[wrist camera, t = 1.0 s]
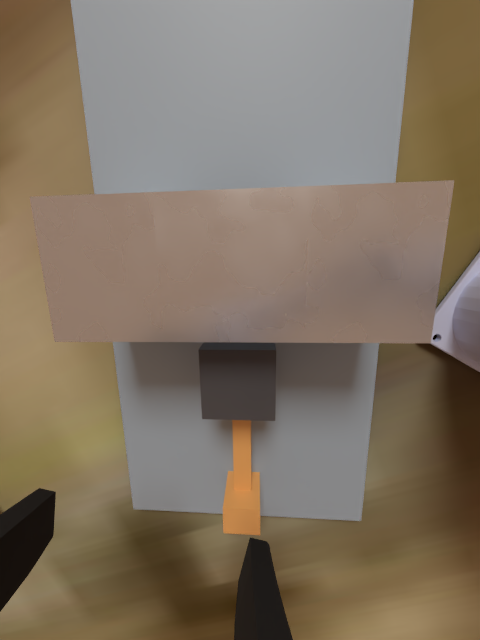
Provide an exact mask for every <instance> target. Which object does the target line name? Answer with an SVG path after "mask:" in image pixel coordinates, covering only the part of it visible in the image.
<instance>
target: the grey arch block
mask: <svg viewBox="0 0 480 640" xmlns="http://www.w3.org/2000/svg"><path fill="white" fill-rule="evenodd" d="M453 185H454V180H453V181H427V182H401V183H375V184H349V185H323V186H297V187H271V188H245V189H219V190H193V191H167V192H141V193H115V194H89V195H63V196H37V197H30V201H31V207H32V213H33V218H34V224H35V230H36V236H37V242H38V247H39V253H40V259H41V265H42V271H43V276H44V282H45V288H46V294H47V300H48V305H49V311H50V317H51V323H52V329H53V334H54V340H55V342H258V343H431V337H432V331H433V324H434V317H435V310H436V303H437V296H438V289H439V282H440V275H441V268H442V261H443V255H444V248H445V241H446V234H447V227H448V220H449V213H450V206H451V199H452V192H453Z"/></svg>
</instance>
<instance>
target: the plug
mask: <svg viewBox="0 0 480 640" xmlns="http://www.w3.org/2000/svg"><path fill="white" fill-rule="evenodd" d="M198 351H199V370H200V390H201V409H202V419H216V420H232V429H233V470H234V471H228V475H227V482H226V489H225V496H224V503H223V530H224V533H231V534H248V535H260V472H252V444H251V420H254V421H275V409H276V347H275V343H258V342H204V343H203V344H202V345H201V347H200V348H199V350H198Z"/></svg>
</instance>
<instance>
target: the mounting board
mask: <svg viewBox="0 0 480 640" xmlns="http://www.w3.org/2000/svg"><path fill="white" fill-rule="evenodd" d="M413 1H414V0H71V7H72V15H73V23H74V31H75V39H76V47H77V55H78V63H79V71H80V79H81V88H82V96H83V104H84V112H85V120H86V128H87V136H88V144H89V152H90V160H91V169H92V177H93V185H94V193H95V194H115V193H141V192H167V191H193V190H219V189H245V188H271V187H297V186H323V185H349V184H375V183H395V180H396V170H397V160H398V150H399V140H400V130H401V120H402V110H403V100H404V91H405V81H406V71H407V61H408V51H409V41H410V31H411V21H412V11H413ZM203 343H204V342H113V347H114V355H115V363H116V371H117V379H118V387H119V395H120V403H121V411H122V419H123V428H124V436H125V444H126V452H127V460H128V468H129V476H130V484H131V492H132V500H133V508H134V509H142V510H161V511H180V512H199V513H218V514H223V503H224V496H225V489H226V482H227V475H228V471H234V470H233V429H232V420H216V419H202V409H201V390H200V370H199V351H198V350H199V348H200V347H201V345H202V344H203ZM275 347H276V409H275V421H254V420H251V444H252V472H260V516H275V517H294V518H313V519H332V520H351V521H361V516H362V506H363V496H364V487H365V477H366V467H367V457H368V447H369V437H370V427H371V417H372V407H373V397H374V388H375V378H376V368H377V358H378V348H379V343H275Z"/></svg>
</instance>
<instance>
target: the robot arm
mask: <svg viewBox="0 0 480 640" xmlns="http://www.w3.org/2000/svg"><path fill="white" fill-rule="evenodd" d="M436 334H437V338H436V339H435V340H433V336H434V335H436ZM430 344H431V345H433V346H435V347H437V348H438V349H440V350H442V351H443V352H445V353H447V354H449V355H450V356H452V357H454V358H456V359H457V360H459V361H461V362H463V363H464V364H466V365H468V366H469V367H471V368H473V369H475V370H476V371H478V372H480V252H479V253H478V254H477V255H476V257H475V258H474V259H473V261H472V262H471V263H470V265H469V266H468V267H467V269H466V270H465V271H464V273H463V274H462V275H461V277H460V278H459V279H458V281H457V282H456V283H455V285H454V286H453V287H452V288H451V290H450V291H449V292H448V294H447V295H446V296H445V298H444V299H443V300H442V302H441V303H440V304H439V306H438V307H437V308H436V310H435V317H434V324H433V331H432V337H431V343H430ZM55 494H56V492H53V491H49V490H45V489H41V488H39V489H38V490H36V491H34V492H33V493H31V494H30V495H28V496H27V497H25V498H24V499H22V500H21V501H20V502H18V503H17V504H15V505H14V506H12V507H11V508H9V509H8V510H6V511H5V512H3V513H2V514H0V611H1V610H2V609H3V607H4V606H5V605H6V603H7V602H8V601H9V600H10V598H11V597H12V596H13V594H14V593H15V592H16V590H17V589H18V588H19V586H20V585H21V584H22V582H23V581H24V580H25V578H26V577H27V576H28V574H29V573H30V571H31V570H32V568H33V567H34V565H35V564H36V562H37V561H38V559H39V558H40V556H41V555H42V553H43V551H44V550H45V548H46V547H47V545H48V543H49V542H50V540H51V539H52V537H53V532H54V513H55ZM234 640H293V639H292V635H291V632H290V628H289V625H288V621H287V618H286V614H285V611H284V607H283V604H282V600H281V596H280V592H279V588H278V584H277V580H276V576H275V571H274V567H273V562H272V557H271V553H270V547H269V544H268V543H267V542H266V541H262V540H258V539H254V538H250V540H249V543H248V547H247V551H246V555H245V558H244V562H243V566H242V569H241V573H240V577H239V581H238V592H237V603H236V615H235V632H234Z"/></svg>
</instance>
